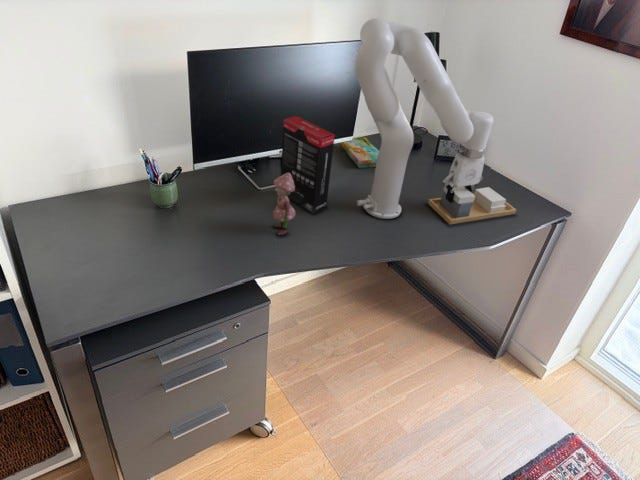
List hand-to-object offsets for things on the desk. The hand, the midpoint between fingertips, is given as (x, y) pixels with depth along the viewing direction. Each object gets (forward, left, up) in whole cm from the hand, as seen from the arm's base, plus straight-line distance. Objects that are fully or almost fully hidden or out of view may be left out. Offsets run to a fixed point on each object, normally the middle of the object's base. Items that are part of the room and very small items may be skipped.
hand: (457, 199), depth 168 cm
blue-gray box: (0, 0, -5) cm, 5 cm away
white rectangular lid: (0, 0, +1) cm, 1 cm away
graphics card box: (-49, +19, -6) cm, 52 cm away
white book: (+15, 0, -5) cm, 16 cm away
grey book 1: (0, 0, -2) cm, 2 cm away
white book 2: (+15, +1, -3) cm, 15 cm away
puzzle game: (-14, +46, -6) cm, 48 cm away
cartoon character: (-61, +4, -6) cm, 61 cm away
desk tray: (+7, 0, -6) cm, 9 cm away
